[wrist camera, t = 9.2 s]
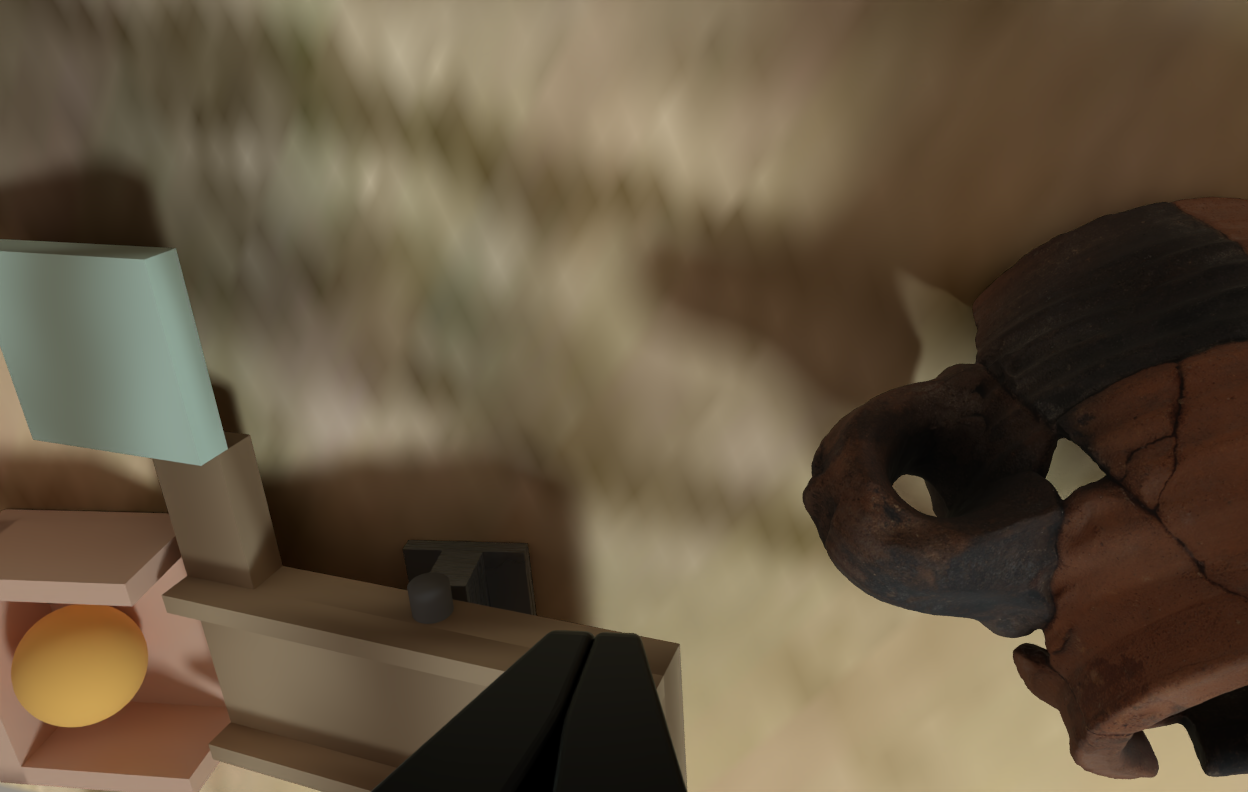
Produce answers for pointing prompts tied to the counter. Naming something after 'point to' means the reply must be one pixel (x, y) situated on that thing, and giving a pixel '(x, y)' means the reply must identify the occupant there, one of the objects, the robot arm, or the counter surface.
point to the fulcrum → (477, 571)
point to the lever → (253, 535)
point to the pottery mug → (1095, 513)
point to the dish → (177, 648)
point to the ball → (79, 665)
